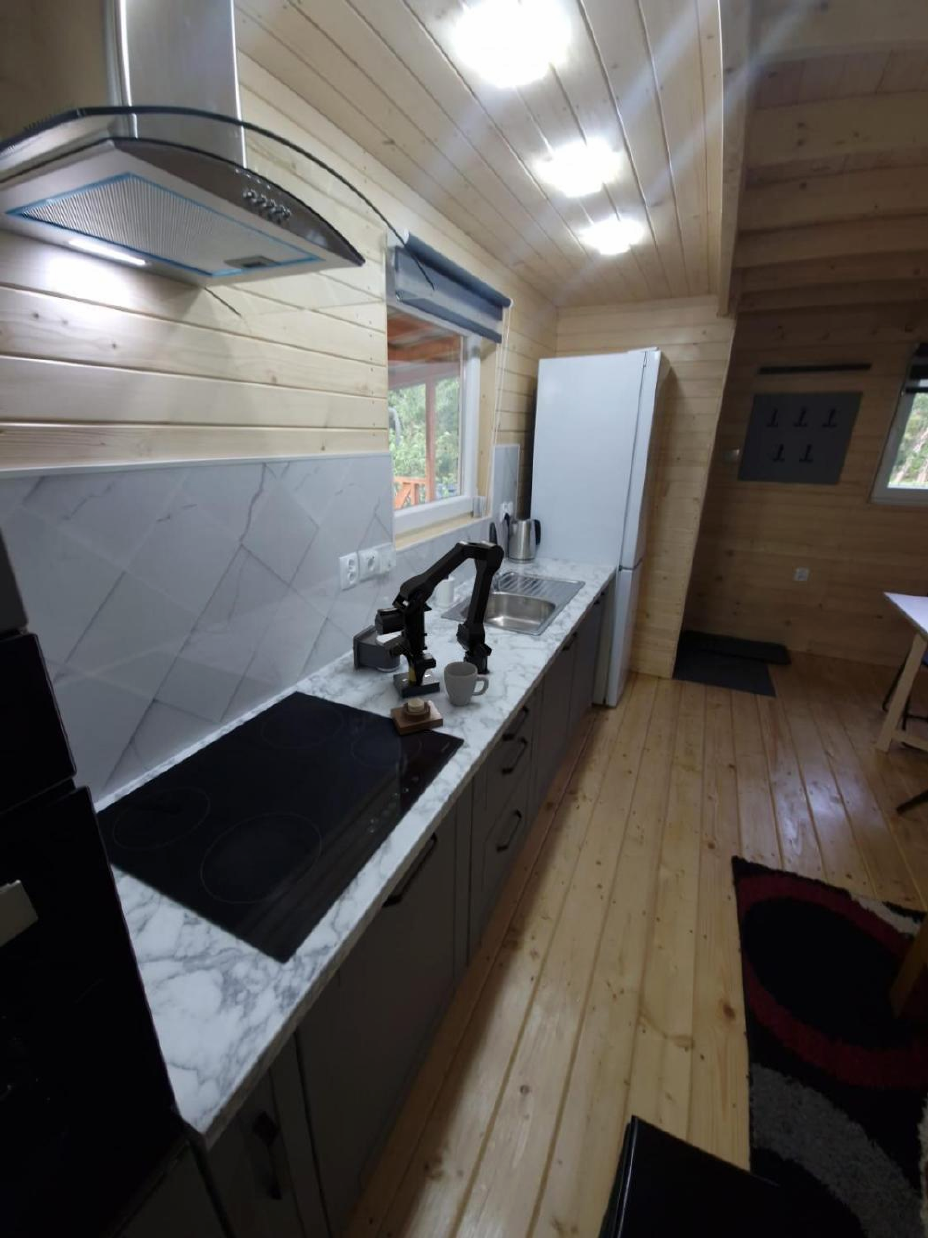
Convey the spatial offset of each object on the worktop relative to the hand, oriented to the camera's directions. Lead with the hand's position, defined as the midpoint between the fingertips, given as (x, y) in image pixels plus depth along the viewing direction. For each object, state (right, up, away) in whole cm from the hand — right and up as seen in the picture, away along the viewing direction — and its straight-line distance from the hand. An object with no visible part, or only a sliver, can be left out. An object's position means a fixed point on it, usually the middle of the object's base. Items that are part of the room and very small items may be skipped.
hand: (415, 678), depth 140 cm
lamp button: (+2, -6, -16) cm, 17 cm away
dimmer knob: (0, 0, 0) cm, 0 cm away
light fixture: (-12, +2, +14) cm, 18 cm away
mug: (+14, -6, -5) cm, 16 cm away
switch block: (+2, -9, -14) cm, 17 cm away
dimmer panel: (0, -3, +1) cm, 3 cm away
